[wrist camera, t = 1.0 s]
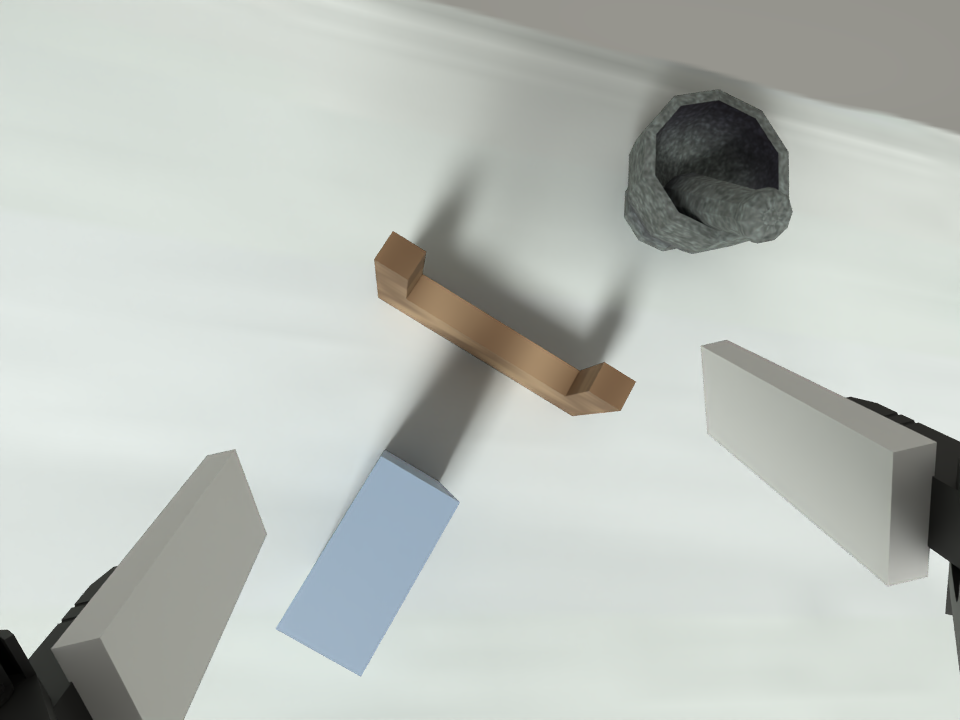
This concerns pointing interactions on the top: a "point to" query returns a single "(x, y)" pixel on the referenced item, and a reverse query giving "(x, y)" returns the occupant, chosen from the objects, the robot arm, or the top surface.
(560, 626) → the top surface
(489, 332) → the wooden drawer pull
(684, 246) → the mortar and pestle
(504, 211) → the top surface
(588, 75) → the top surface
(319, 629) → the slotted block
